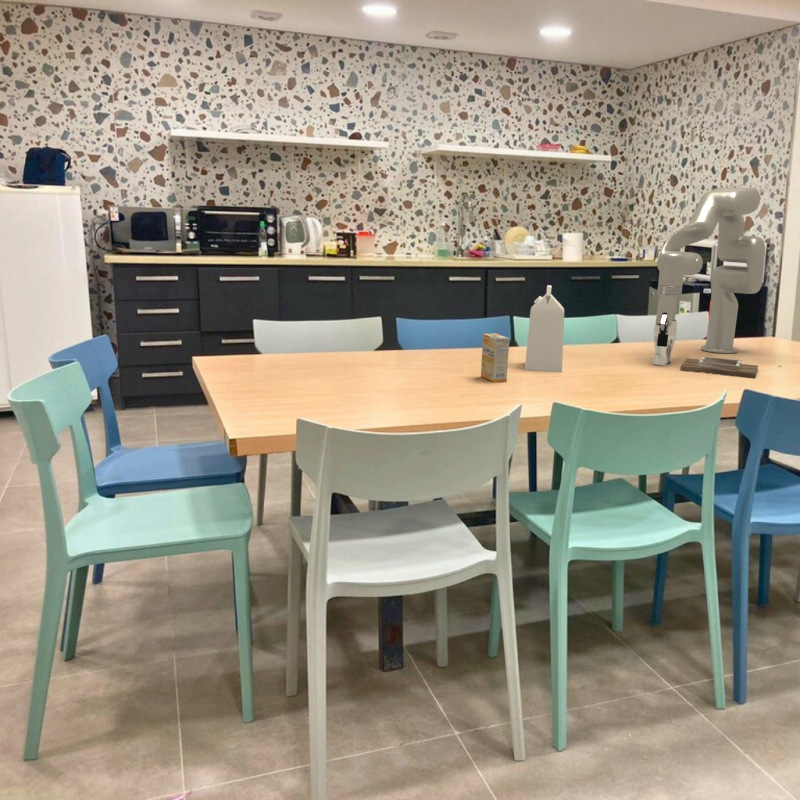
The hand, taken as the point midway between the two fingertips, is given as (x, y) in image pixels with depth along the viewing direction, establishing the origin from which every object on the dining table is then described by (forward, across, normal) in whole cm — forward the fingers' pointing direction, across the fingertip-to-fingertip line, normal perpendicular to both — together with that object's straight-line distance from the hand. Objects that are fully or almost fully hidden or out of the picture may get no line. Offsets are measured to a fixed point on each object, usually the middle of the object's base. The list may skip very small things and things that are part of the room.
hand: (663, 344), depth 253 cm
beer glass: (+7, 0, 0) cm, 7 cm away
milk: (+7, +29, -32) cm, 44 cm away
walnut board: (+7, 0, +18) cm, 19 cm away
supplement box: (+7, +56, -39) cm, 69 cm away
